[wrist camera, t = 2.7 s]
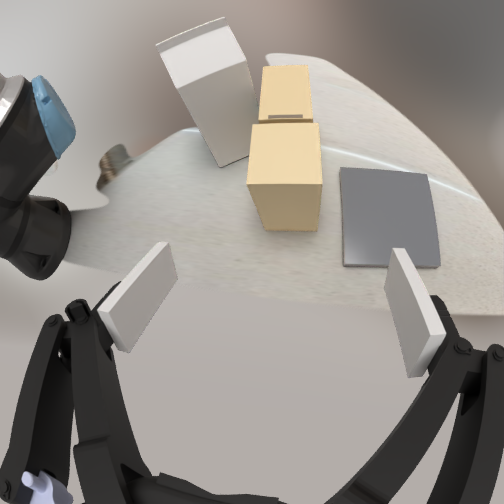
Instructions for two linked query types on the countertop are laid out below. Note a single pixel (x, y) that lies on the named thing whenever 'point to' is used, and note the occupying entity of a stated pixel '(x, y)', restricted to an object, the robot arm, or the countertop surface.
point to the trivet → (387, 217)
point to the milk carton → (214, 87)
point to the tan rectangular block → (286, 175)
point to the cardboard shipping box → (285, 95)
